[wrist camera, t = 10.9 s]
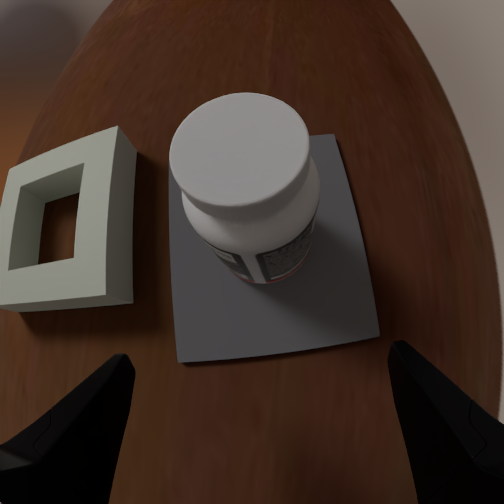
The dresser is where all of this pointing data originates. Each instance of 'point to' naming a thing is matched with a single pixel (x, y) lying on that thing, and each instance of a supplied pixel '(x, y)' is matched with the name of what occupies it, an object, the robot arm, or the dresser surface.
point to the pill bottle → (248, 183)
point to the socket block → (87, 226)
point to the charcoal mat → (275, 283)
